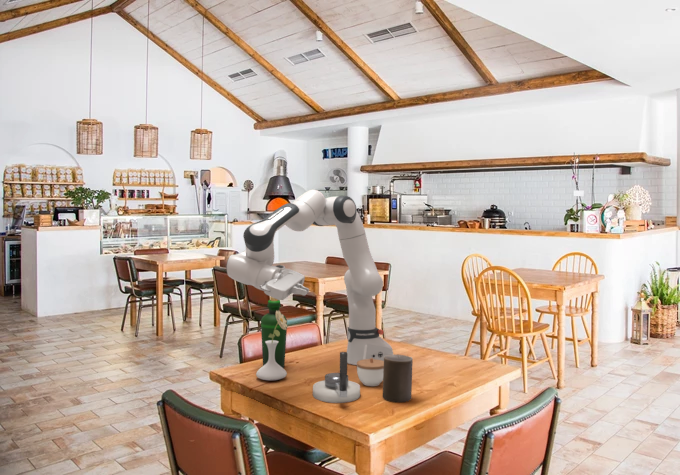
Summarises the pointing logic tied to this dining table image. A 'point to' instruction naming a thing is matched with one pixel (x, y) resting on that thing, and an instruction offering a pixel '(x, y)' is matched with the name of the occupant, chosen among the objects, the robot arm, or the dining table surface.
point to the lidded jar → (370, 371)
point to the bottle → (268, 327)
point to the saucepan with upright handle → (339, 377)
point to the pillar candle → (397, 378)
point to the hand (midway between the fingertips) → (307, 292)
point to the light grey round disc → (335, 393)
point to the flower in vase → (273, 355)
